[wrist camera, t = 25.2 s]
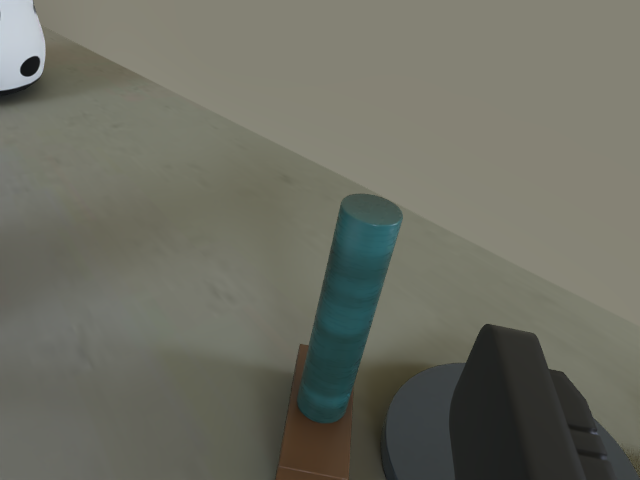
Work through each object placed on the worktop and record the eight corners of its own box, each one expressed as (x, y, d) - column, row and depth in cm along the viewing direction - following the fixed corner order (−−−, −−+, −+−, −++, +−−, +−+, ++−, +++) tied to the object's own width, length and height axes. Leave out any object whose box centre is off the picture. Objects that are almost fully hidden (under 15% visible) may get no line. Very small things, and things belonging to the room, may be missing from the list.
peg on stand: (339, 510, 30) (416, 273, 22) (271, 497, 30) (325, 255, 22) (347, 382, 38) (407, 173, 30) (293, 372, 37) (339, 160, 30)
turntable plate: (337, 400, 36) (340, 386, 36) (518, 358, 43) (524, 346, 42) (487, 659, 25) (496, 646, 25) (700, 549, 32) (711, 537, 31)
